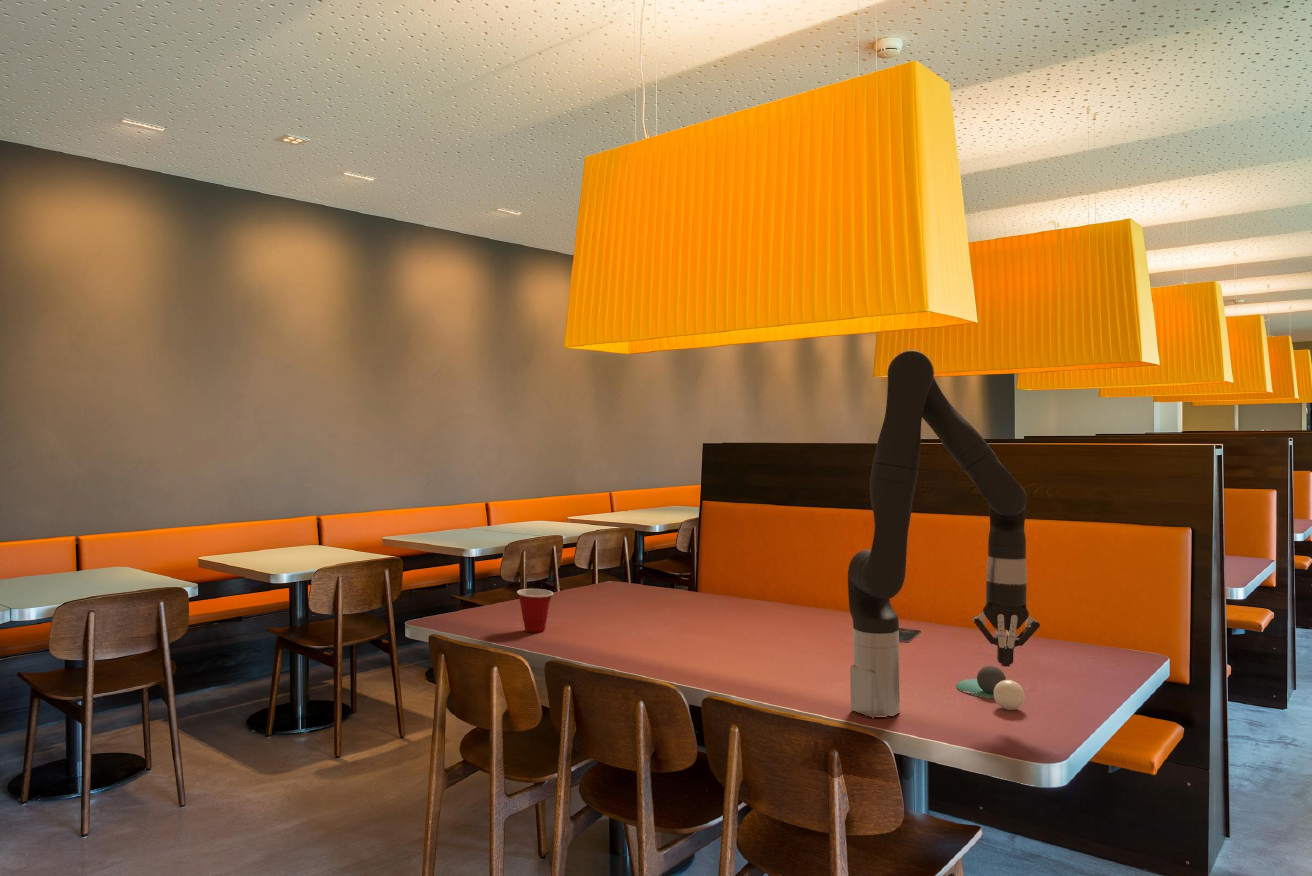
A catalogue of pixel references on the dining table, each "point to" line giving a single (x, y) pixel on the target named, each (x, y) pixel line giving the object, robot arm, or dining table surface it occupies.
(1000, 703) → the cue ball
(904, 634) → the smartphone
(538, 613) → the plastic cup
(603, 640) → the dining table surface
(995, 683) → the object ball
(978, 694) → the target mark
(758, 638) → the dining table surface
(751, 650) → the dining table surface
